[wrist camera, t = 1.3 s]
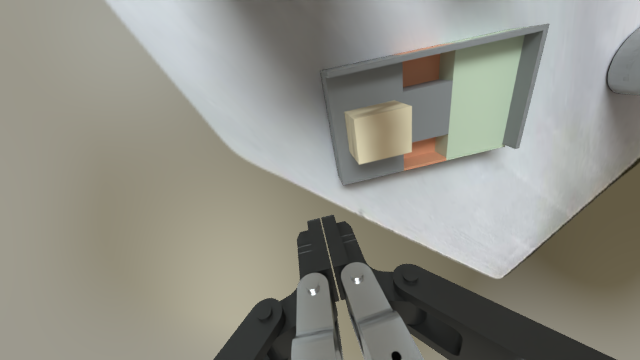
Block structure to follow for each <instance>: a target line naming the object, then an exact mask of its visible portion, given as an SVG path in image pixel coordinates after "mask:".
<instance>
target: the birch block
mask: <svg viewBox="0 0 640 360" xmlns="http://www.w3.org/2000/svg"><path fill="white" fill-rule="evenodd" d="M344 114H345V121H346V128H347V136H348V143H349V151H350V153H351V154H352V156H353V157H354V158H355V160H356V161H357V162H358V164H359V165H360V164H364V163H368V162H372V161H377V160H381V159H385V158H389V157H393V156H398V155H402V154H406V153H410V152H412V106H410V105H407V104H404V103H401V102H398V101H395V100H394V101H389V102H385V103H380V104H376V105H372V106H367V107H363V108H358V109H354V110H350V111H345V112H344Z"/></svg>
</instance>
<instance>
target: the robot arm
mask: <svg viewBox="0 0 640 360" xmlns="http://www.w3.org/2000/svg"><path fill="white" fill-rule="evenodd" d="M608 85H609V87H610V89H611V90H612V91H614V92H616V93H620V94H631V95H640V28H638V29H637V30H636V31H635V32H634V33H633V34H632V35H631V36H630V37H629V38H628V39H627V40H626V41H625V42H624V43H623V45H622V46H621V47H620V49H619V50H618V52H617V53H616V55H615V57H614V59H613V61H612V63H611V65H610V69H609V72H608ZM321 219H322V223H323V227H324V231H325V235H326V240H327V244H328V248H329V252H330V256H331V260H332V265H333V269H334V273H335V277H336V281H337V285H338V289H339V293H340V297H341V300H344V299H345V300H346V304H347V308H348V312H349V316H350V319H351V322H352V325H353V328H354V331H355V334H356V336H357V340H358V342H359V345H360V349H361V352H362V355H363V357H364V360H424V359H423V357H422V355H421V353H420V351H419V349H418V348H417V346H416V344H415V342H414V340H413V338H412V337H411V335H410V334H412V335H413V336H415V337H416V338H418V339H419V340H421V341H422V342H424V343H425V344H427V345H428V346H429V347H431V348H432V349H434V350H435V351H437V352H438V353H440V354H441V355H443V356H444V357H446V358H447V359H449V360H616V359H614V358H612V357H610V356H607V355H605V354H603V353H601V352H599V351H597V350H595V349H593V348H591V347H588V346H586V345H584V344H582V343H580V342H578V341H576V340H574V339H571V338H569V337H567V336H565V335H563V334H561V333H559V332H557V331H554V330H552V329H550V328H548V327H546V326H544V325H542V324H540V323H537V322H535V321H533V320H531V319H529V318H527V317H525V316H523V315H520V314H518V313H516V312H514V311H512V310H510V309H508V308H506V307H503V306H501V305H499V304H497V303H494V302H493V301H491V300H489V299H486V298H484V297H482V296H480V295H478V294H476V293H473V292H472V291H469V290H467V289H465V288H463V287H461V286H459V285H457V284H455V283H452V282H450V281H448V280H446V279H444V278H442V277H440V276H438V275H435V274H433V273H431V272H429V271H427V270H425V269H423V268H420V267H418V266H416V265H413V264H402V265H400V266H398V267H397V268H396V269H395V270H394V272H382V271H377V270H375V269H372V268H371V267H370V266H369V265H368V264H367V263H366V261H365V259H364V257H363V255H362V252H361V250H360V247H359V245H358V242H357V240H356V238H355V235H354V233H353V230H352V228H351V226H350V225H349V224H348V223H346V222H345V221H344V222H340V223H336V221H335V217H334V215H330V216H326V217H322V218H321ZM307 223H308V230H307V231H303V232H300V234H299V236H298V239H297V245H298V258H299V271H300V282H299V283H298V287H297V288H296V290H295V291H294V292H293V293H292V294H291V295H289V296H288V297H286V298H285V299H283V300H281V301H278V300H276V299H273V298H268V299H265V300H262V301H260V302H259V303H257V304H256V305H255V307H254V308H253V309H252V310H251V312H250V313H249V314H248V315H247V317H246V318H245V319H244V321H243V322H242V323H241V324H240V326H239V327H238V328H237V330H236V331H235V332H234V334H233V335H232V336H231V337H230V339H229V340H228V341H227V343H226V344H225V345H224V347H223V348H222V349H221V350H220V352H219V353H218V354H217V356H216V357H215V358H214V360H343V353H342V346H341V339H340V331H339V324H338V318H337V316H338V314H337V308H336V303H335V302H337V301H339V298H338V294H337V289H336V285H335V281H334V277H333V272H332V268H331V264H330V260H329V255H328V251H327V247H326V243H325V239H324V234H323V230H322V226H321V222H320V219H319V218H318V219H314V220H310V221H308V222H307Z"/></svg>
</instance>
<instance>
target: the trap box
mask: <svg viewBox="0 0 640 360" xmlns="http://www.w3.org/2000/svg"><path fill="white" fill-rule="evenodd" d="M548 28H549V24H544V25H537V26H530V27H523V28H516V29H509V30H504V31H499V32H495V33H490V34H486V35H481V36H477V37H472V38H467V39H463V40H458V41H454V42H449V43H445V44H440V45H436V46H431V47H426V48H422V49H417V50H413V51H408V52H404V53H399V54H395V55H390V56H386V57H381V58H376V59H372V60H367V61H363V62H358V63H354V64H349V65H345V66H340V67H335V68H331V69H326V70H322V71H320V72H321V78H322V83H323V89H324V95H325V101H326V107H327V113H328V119H329V124H330V130H331V136H332V142H333V148H334V154H335V159H336V165H337V171H338V176H339V178H340V180H341V182H342V184H343V185H347V184H351V183H355V182H359V181H364V180H368V179H372V178H376V177H380V176H384V175H389V174H393V173H397V172H401V171H405V170H409V169H414V168H418V167H422V166H426V165H430V164H434V163H439V162H443V161H447V160H451V159H455V158H459V157H463V156H468V155H472V154H476V153H480V152H484V151H488V150H493V149H497V148H501V147H505V145H506V146H509V147H512V148H515V149H517V148H519V146H520V142H521V138H522V134H523V130H524V126H525V122H526V118H527V113H528V109H529V105H530V101H531V97H532V93H533V89H534V85H535V81H536V77H537V73H538V69H539V65H540V60H541V56H542V52H543V48H544V44H545V40H546V36H547V32H548ZM394 100H395V101H398V102H401V103H404V104H407V105H410V106H412V152H410V153H406V154H402V155H398V156H393V157H389V158H385V159H381V160H377V161H372V162H368V163H364V164H360V165H359V164H358V162H357V161H356V160H355V158H354V157H353V156H352V154H351V153H350V151H349V143H348V136H347V128H346V121H345V114H344V112H345V111H350V110H354V109H358V108H363V107H367V106H372V105H376V104H380V103H385V102H389V101H394Z"/></svg>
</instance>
